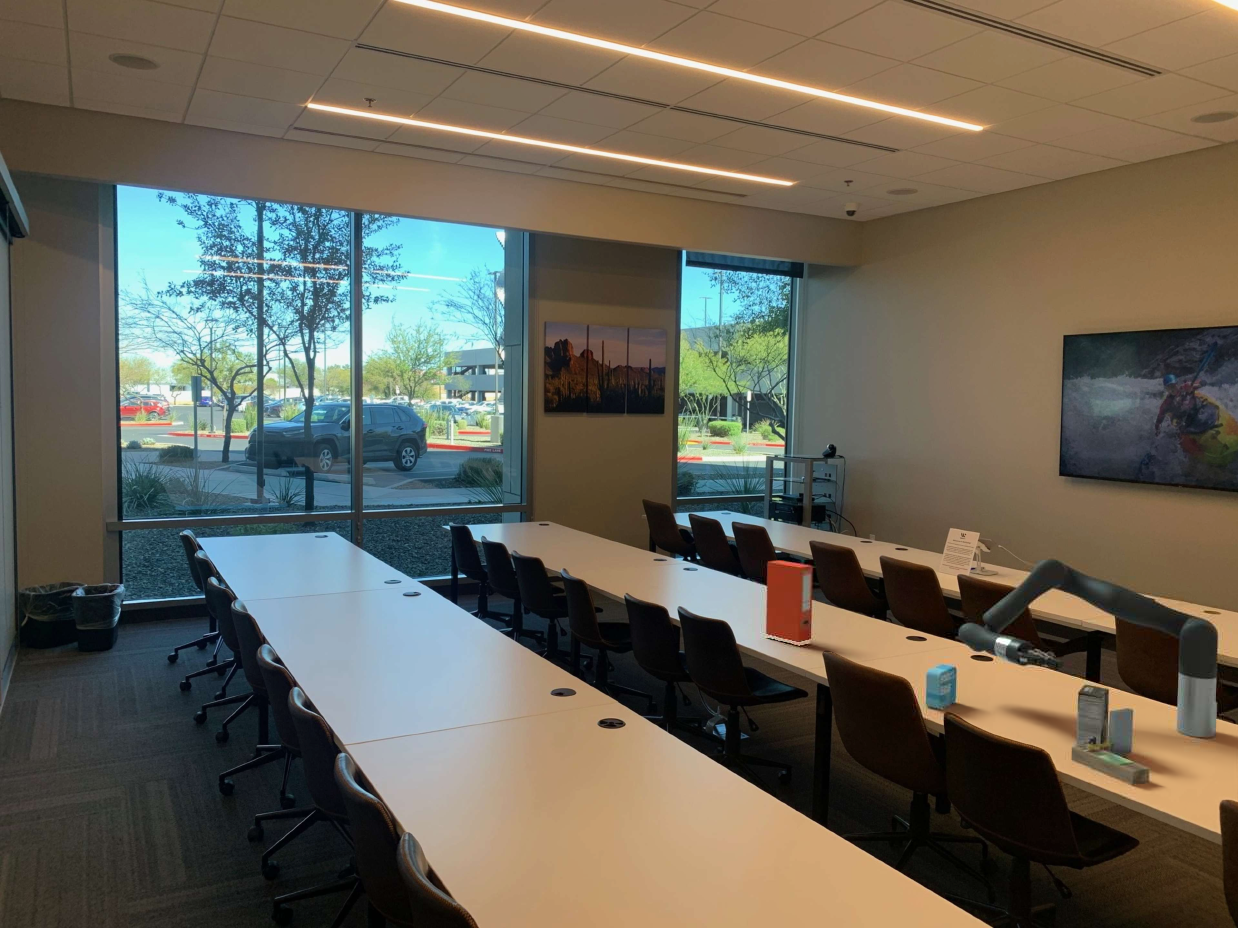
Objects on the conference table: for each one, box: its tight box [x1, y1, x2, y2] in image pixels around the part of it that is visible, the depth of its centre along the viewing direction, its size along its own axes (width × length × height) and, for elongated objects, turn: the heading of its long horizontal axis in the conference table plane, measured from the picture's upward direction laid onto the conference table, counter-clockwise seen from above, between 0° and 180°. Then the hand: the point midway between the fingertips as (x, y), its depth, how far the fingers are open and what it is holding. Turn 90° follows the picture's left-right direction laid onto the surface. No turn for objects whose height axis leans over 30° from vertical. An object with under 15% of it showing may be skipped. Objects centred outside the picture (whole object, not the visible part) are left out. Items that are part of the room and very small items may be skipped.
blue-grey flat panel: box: [1087, 707, 1134, 757], centre depth 239 cm, size 16×2×12 cm, turn 112°
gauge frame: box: [1071, 744, 1150, 786], centre depth 232 cm, size 6×18×4 cm, turn 22°
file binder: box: [765, 559, 814, 642], centre depth 364 cm, size 8×17×32 cm, turn 39°
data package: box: [925, 663, 958, 710], centre depth 284 cm, size 12×4×12 cm, turn 134°
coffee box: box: [1076, 684, 1110, 750], centre depth 249 cm, size 9×6×16 cm
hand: (1060, 665), depth 258 cm, fingers closed
